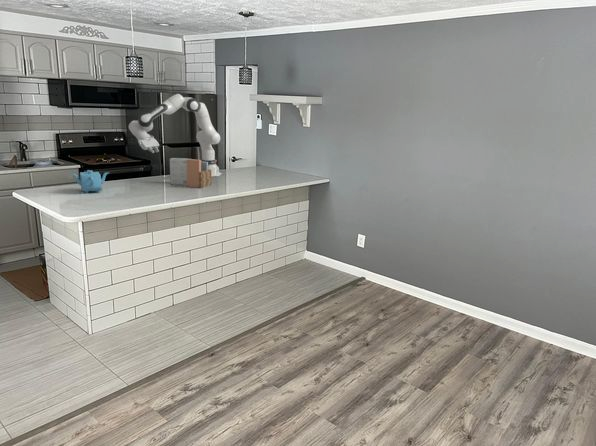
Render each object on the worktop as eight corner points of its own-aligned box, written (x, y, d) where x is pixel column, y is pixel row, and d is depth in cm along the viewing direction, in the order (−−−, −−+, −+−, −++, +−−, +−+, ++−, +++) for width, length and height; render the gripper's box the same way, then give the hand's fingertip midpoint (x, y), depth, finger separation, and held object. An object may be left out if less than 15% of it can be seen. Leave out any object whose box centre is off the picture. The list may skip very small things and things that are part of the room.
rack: (209, 184, 358) (209, 169, 355) (211, 184, 357) (211, 169, 354) (199, 188, 341) (198, 172, 338) (201, 188, 341) (201, 172, 337)
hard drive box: (192, 183, 357) (191, 158, 352) (188, 185, 350) (188, 159, 344) (173, 182, 358) (172, 157, 353) (169, 184, 351) (169, 158, 346)
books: (196, 183, 359) (196, 157, 353) (208, 184, 357) (208, 158, 351) (187, 186, 344) (186, 159, 339) (199, 187, 342) (199, 160, 336)
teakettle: (93, 195, 301) (92, 173, 297) (70, 192, 305) (68, 171, 301) (111, 190, 318) (110, 169, 315) (89, 187, 323) (88, 167, 319)
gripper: (139, 137, 341) (151, 150, 342) (153, 135, 361) (165, 148, 361) (134, 142, 344) (146, 156, 344) (149, 140, 363) (160, 153, 363)
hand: (155, 152), depth 353 cm, fingers open, 5 cm apart
